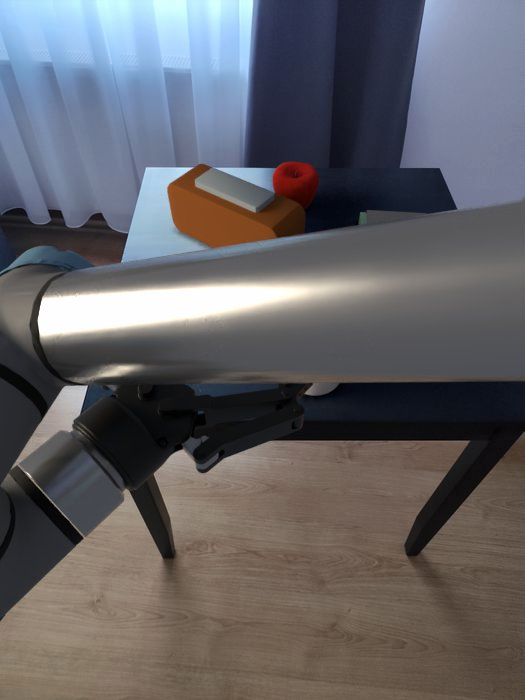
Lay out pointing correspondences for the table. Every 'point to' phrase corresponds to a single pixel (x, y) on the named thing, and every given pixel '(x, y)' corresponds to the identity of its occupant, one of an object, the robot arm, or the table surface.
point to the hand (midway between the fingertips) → (270, 312)
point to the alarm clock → (230, 209)
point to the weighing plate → (388, 215)
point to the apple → (296, 182)
